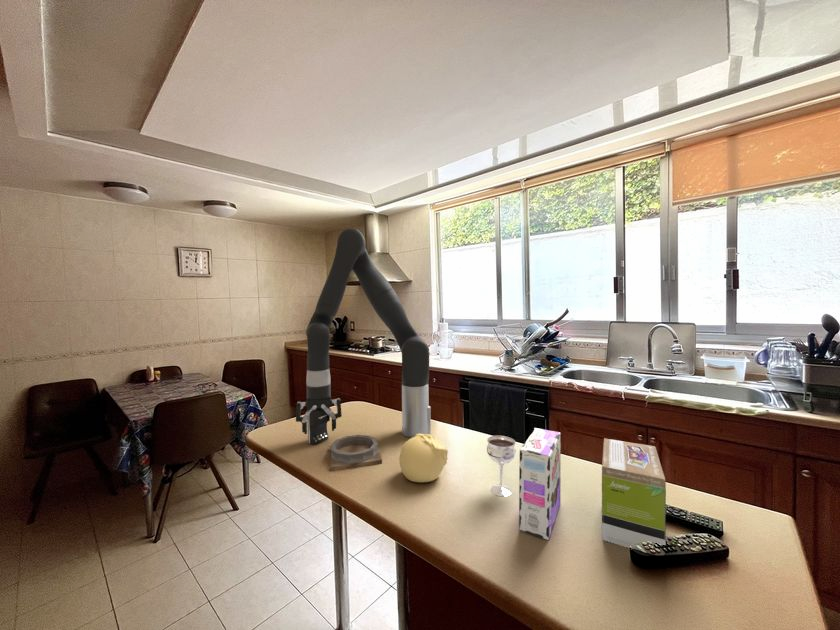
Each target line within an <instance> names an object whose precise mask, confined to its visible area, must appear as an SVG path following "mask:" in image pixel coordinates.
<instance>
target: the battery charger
mask: <svg viewBox="0 0 840 630" xmlns="http://www.w3.org/2000/svg"><path fill="white" fill-rule="evenodd" d="M307 411H308V410H307ZM308 412H309V411H308ZM309 414H310V415H309V417H308V419H307V434H308V435H307V441H308V444H311V445H317V444H320V443H323V442H324V441H327V440H328V439H329V434H328V422H330V421H331V420H330V419H331V417H330V416H329V415H328V414H327V413H324V411H323V409H320V408H317V409H315V410H312V411H311V412H310V413H309Z"/></svg>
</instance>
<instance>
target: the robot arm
mask: <svg viewBox="0 0 840 630" xmlns="http://www.w3.org/2000/svg"><path fill="white" fill-rule="evenodd" d="M336 243H337V244H336V249H335V253H334V259H333V261H332V265H331V268H330V271H329V274H328V275H327V278H326V280H325V283H324V285H323V288H322V290H321V293H320V295H319V297H318V300H317V303H316V305H315V309H314V311H313V314H312V316H311V318H310V320H309V322H308V325H307V327H306V331H305V335H306V340H307V355H306V356H307V357H306V381H305V384H306V401H302V402H301V401H299V400H298V401H297V403H296V411H295V421H296V422H297V423H301V431H302V434H303V433H304V435H307V434H308V422H307V419H308V417H309V415H310V414H309V413H310V412H311V411H312V410H315V409H317V408H320V409H323V411H324V413H327V414H328V415H329V416H330V419H331V432H334V431H335V430H336V428H337V420H338V418H339V419H340V418H342V415H343V413H342V404H341V403H342V402H341V398H340V397H337V398H334V399H332V396H331V395H332V394H331V393H332V392H331V383H332V382H331V372H330V343H331V336H330V335H331V333H330V329H331V328H330V327H331V325H332V322H333V320H334V318H335V317H336V316H337V313H338V311H339V309H340V306H341V304H342V301H343V298H344V295H345V293H346V292H345V291H346V289H347V285H348V281H349V277H350V274H351V272H353V273H354V274H355V276H356V277H357V280H358V281H359V284H360V286H361V288H362V290H363V292H364V294H365V296H366V298H367V300H368V301H369V303H370V305H371V307H372V308H373V310H374V312H375V313H376V314H377V316H378V317H379V319H380V320H381V321H382V322H383V324H384V325H385V326H386V327H387V329H389V330H390V333H391V334H392V335H393V337H394V338H395V341H396V343H397V345H398V347H399V350H400V352H401V409H402V410H401V412H402V413H401V414H402V416H401V423H402V425H401V428H402V435H403V436H405V437H407V438H410V439H411V438H413V437H415V435H416V434H431V435H432V433H431V431H432V428H431V425H432V424H431V409H432V407H431V406H430V405H429V396H430V394H429V378H430V351H429V350H430V349H429V346H428V345H427V343H426V342H425V341H424V340H423V339H422V338H421V336H420V334H419V333H417V331H416V330H415V328H414V326H413V325H412V324H411V322H410V321H409V320H410V319H408V316H407V314H406V312H405V309H404V307H403V303H402V302H401V299H400V298H399V297H398V295H397V293H396V291H395V289H394V288H393V287H392V285H391V283H390V282H389V281H388V280H387V278H386V277H385V276H384V275H383V274H382V273H381V272H380V270H379V269H378V267H376V265H375V263H374V262H373V260H372V258H371V257H370V255H369V253H368V250H367V248H366V238H365V237H364V235H363V233H362V232H361V231H360V230H359V229H357V228H352V227H350V228H346V229H344V230H342V232H340V234H339V235H338V237H337V241H336ZM333 404H334V406H335V407H336V410H337V411H336V413H334V411H333V409H332V408H331V406H332V405H333ZM304 407H306V409H307V410H306V412H305V414H304V415H303V416H301V411H302V410H303V409H304ZM308 411H309V412H308Z"/></svg>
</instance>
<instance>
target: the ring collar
mask: <svg viewBox="0 0 840 630" xmlns="http://www.w3.org/2000/svg"><path fill="white" fill-rule="evenodd" d="M329 461H330V471H340V470H345V469H352V468H353V469H354V468H359V467H366V466H373V465H379V464H383V458H382V456H381V453H380V451H379V444H378V441H377V439H376V438H374V437H373V436H371V435H366V434H365V435H363V434H355V435H346V436H343V437H341V438H338V439H336V440H334V442H332V443H331V444H330V445H329Z"/></svg>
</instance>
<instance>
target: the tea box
mask: <svg viewBox="0 0 840 630" xmlns="http://www.w3.org/2000/svg"><path fill="white" fill-rule="evenodd" d="M602 446H603V447H602V464H601V536H602V537H601V538H602V541H604V542H607V541H608V542H607V543H610V542H611V544H613V543H614V544H613V545H616V544H618V545H617V546H619V545H620V547H623V546H624V547H623V548H626V547H628V548H627V549H629V548H630V546H631V545H632V544H635V543H640V542H647V541H652V542H654V543H657V544H661V545H666V544H667V543H666V542H667V541H666V540H667V539H666V530H667V528H666V527H667V525H666V524H667V519H666V517H667V516H666V513H667V512H666V508H667V507H666V505H667V501H666V499H667V486H666V477H665V473H664V471H663V467H662V463H661V460H660V457H659V454H658V451H657V447H656V446H654V445H650V444H643V443H635V442H629V441H622V440H618V439H610V438H606V437H604V438H603V445H602ZM666 546H667V545H666Z"/></svg>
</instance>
